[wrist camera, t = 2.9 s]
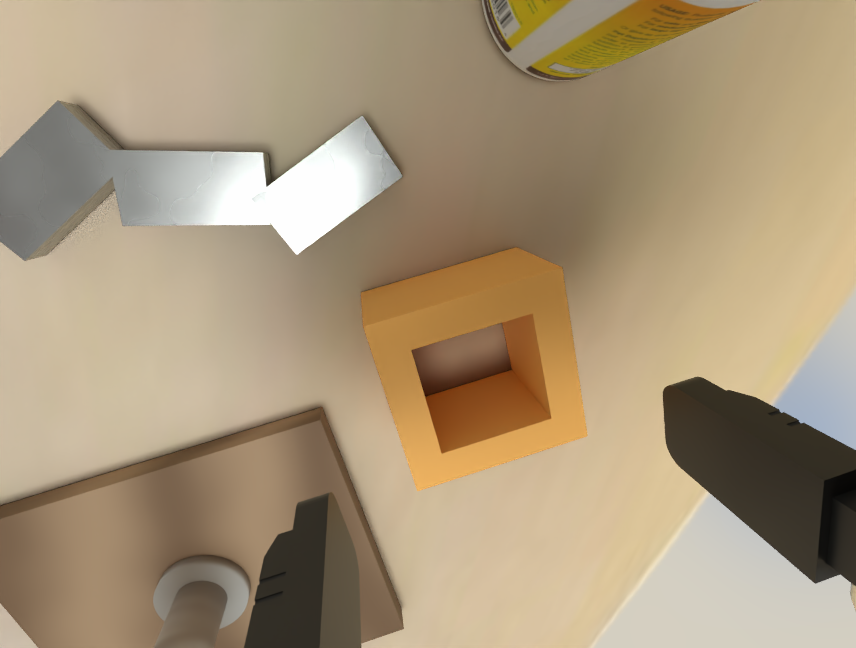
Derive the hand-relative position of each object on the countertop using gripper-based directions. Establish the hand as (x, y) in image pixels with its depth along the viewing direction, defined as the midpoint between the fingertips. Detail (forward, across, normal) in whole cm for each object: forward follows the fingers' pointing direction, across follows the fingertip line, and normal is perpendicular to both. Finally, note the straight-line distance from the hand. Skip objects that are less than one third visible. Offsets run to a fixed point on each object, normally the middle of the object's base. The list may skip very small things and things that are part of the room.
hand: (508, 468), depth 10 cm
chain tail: (+8, +6, -8) cm, 13 cm away
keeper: (+8, +12, +7) cm, 16 cm away
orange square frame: (+8, -1, 0) cm, 8 cm away
